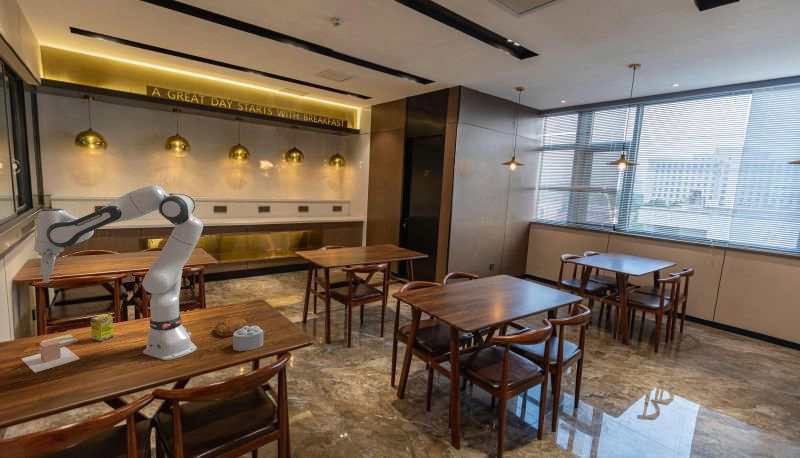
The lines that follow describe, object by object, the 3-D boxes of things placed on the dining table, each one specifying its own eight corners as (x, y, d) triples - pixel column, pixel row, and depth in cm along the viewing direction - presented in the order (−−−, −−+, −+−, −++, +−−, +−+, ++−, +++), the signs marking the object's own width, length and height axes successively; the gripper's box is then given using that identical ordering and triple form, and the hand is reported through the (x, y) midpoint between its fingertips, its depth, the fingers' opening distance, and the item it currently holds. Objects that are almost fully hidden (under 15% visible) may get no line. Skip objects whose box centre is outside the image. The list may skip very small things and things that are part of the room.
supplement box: (101, 342, 169) (100, 320, 168) (91, 340, 170) (90, 318, 169) (114, 337, 175) (112, 315, 173) (104, 335, 176) (102, 314, 174)
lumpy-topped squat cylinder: (265, 346, 174) (265, 328, 173) (237, 353, 165) (237, 335, 164) (257, 338, 182) (257, 321, 181) (229, 345, 173) (229, 328, 172)
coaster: (77, 341, 168) (77, 339, 168) (48, 349, 160) (48, 347, 160) (69, 335, 174) (69, 333, 173) (41, 343, 165) (41, 341, 165)
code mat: (80, 359, 154) (80, 358, 154) (34, 373, 142) (34, 372, 142) (65, 346, 163) (65, 346, 163) (21, 359, 151) (21, 358, 151)
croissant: (251, 333, 191) (253, 319, 191) (223, 340, 178) (226, 324, 178) (235, 326, 199) (237, 311, 199) (207, 331, 186) (209, 316, 185)
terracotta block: (60, 358, 153) (59, 342, 152) (44, 362, 149) (43, 346, 148) (56, 354, 156) (55, 339, 155) (40, 359, 152) (39, 343, 151)
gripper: (58, 253, 144) (55, 286, 146) (60, 241, 159) (58, 272, 161) (36, 252, 140) (33, 287, 141) (40, 241, 155) (38, 272, 156)
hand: (46, 279), depth 151 cm, fingers open, 8 cm apart
